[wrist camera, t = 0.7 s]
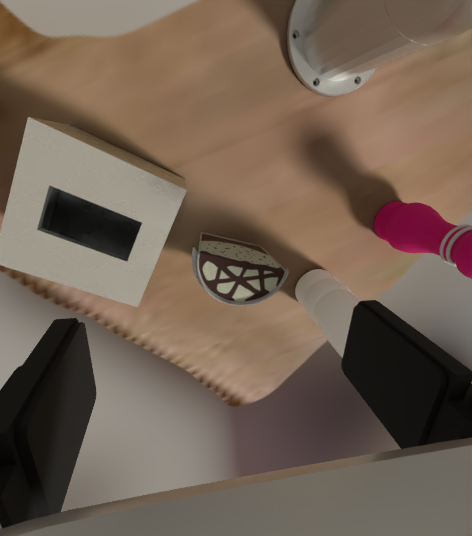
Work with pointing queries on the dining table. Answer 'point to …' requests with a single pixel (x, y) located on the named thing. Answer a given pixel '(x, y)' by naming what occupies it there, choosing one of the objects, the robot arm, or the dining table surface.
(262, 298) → the half-round slice
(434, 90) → the dining table surface
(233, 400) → the dining table surface
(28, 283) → the dining table surface
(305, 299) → the water bottle
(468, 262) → the pepper mill
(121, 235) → the box
